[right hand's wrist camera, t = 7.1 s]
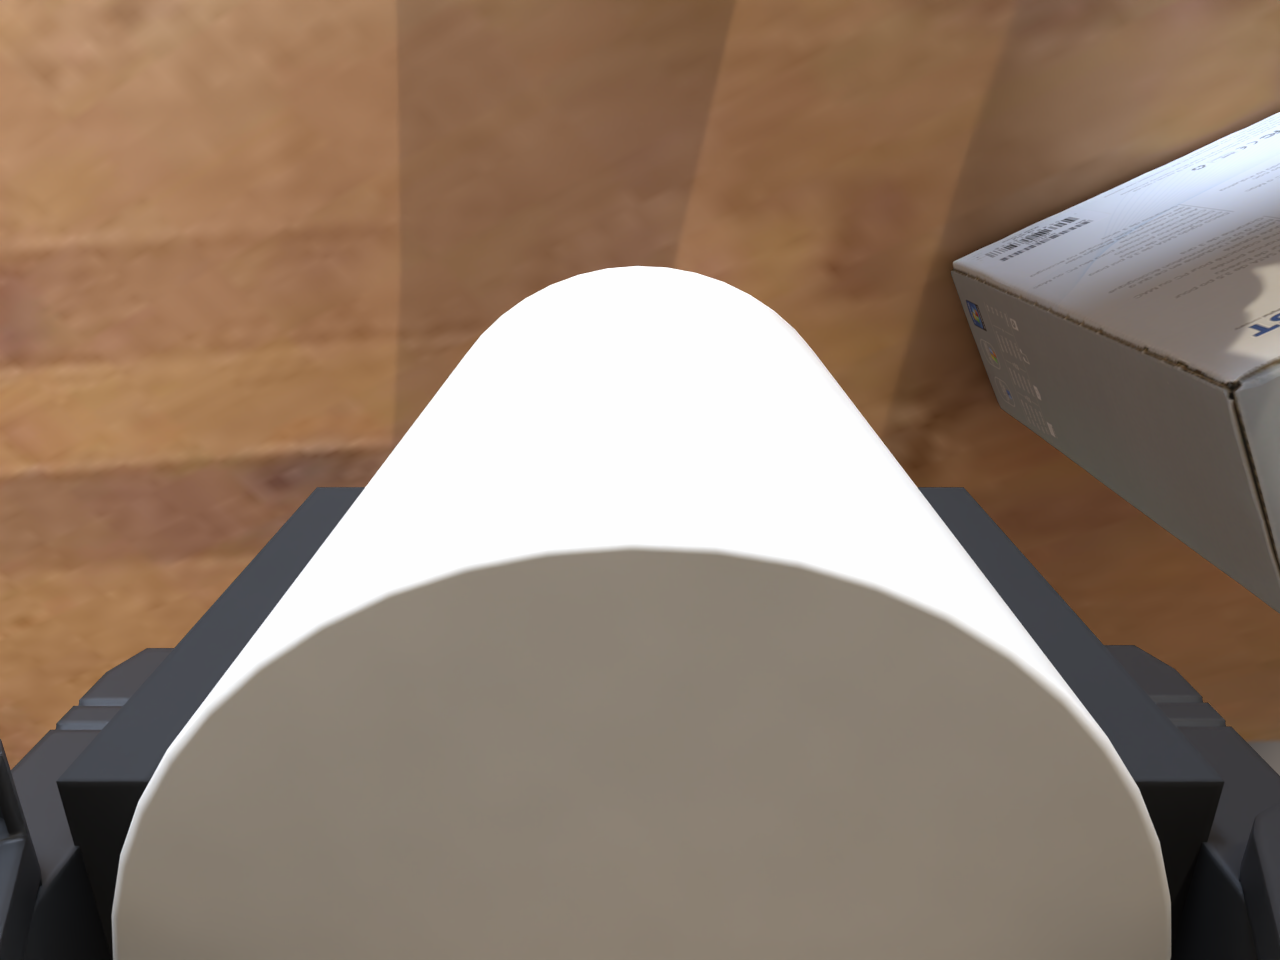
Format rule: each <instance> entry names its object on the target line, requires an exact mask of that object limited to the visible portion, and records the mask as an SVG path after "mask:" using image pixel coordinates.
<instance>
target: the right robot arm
mask: <svg viewBox="0 0 1280 960" xmlns="http://www.w3.org/2000/svg"><path fill="white" fill-rule="evenodd" d="M917 488H918V489H919V490H920V492H921V493H922V494H923V496H924V497H925V498H926V500H927V501H928V502H929V503H930V505H931V506H932V507H933V509H934V510H935V511H936V513H937V514H938V515H939V517H940V518H941V519H942V521H943V522H944V523H945V524H946V526H947V527H948V528H949V530H950V531H951V532H952V534H953V535H954V536H955V538H956V539H957V540H958V542H959V543H960V544H961V545H962V547H963V548H964V549H965V551H966V552H967V553H968V555H969V556H970V557H971V559H972V560H973V561H974V562H975V564H976V565H977V566H978V568H979V569H980V570H981V572H982V573H983V574H984V576H985V577H986V578H987V580H988V581H989V582H990V583H991V585H992V586H993V587H994V589H995V590H996V591H997V593H998V594H999V595H1000V597H1001V598H1002V599H1003V601H1004V602H1005V603H1006V604H1007V606H1008V607H1009V608H1010V610H1011V611H1012V612H1013V614H1014V615H1015V616H1016V618H1017V619H1018V620H1019V622H1020V623H1021V624H1022V625H1023V627H1024V628H1025V629H1026V631H1027V632H1028V633H1029V635H1030V636H1031V637H1032V639H1033V640H1034V641H1035V643H1036V644H1037V645H1038V646H1039V648H1040V649H1041V650H1042V652H1043V653H1044V654H1045V656H1046V657H1047V658H1048V660H1049V661H1050V662H1051V663H1052V665H1053V666H1054V667H1055V669H1056V670H1057V671H1058V673H1059V674H1060V675H1061V677H1062V678H1063V679H1064V681H1065V682H1066V683H1067V684H1068V686H1069V687H1070V688H1071V690H1072V691H1073V692H1074V694H1075V695H1076V696H1077V698H1078V699H1079V700H1080V702H1081V703H1082V704H1083V705H1084V707H1085V708H1086V709H1087V711H1088V712H1089V713H1090V715H1091V716H1092V717H1093V719H1094V720H1095V721H1096V723H1097V724H1098V725H1099V726H1100V728H1101V729H1102V730H1103V732H1104V733H1105V734H1106V736H1107V737H1108V739H1109V740H1110V742H1111V744H1112V745H1113V747H1114V748H1115V750H1116V752H1117V753H1118V755H1119V757H1120V758H1121V760H1122V762H1123V763H1124V765H1125V766H1126V768H1127V770H1128V771H1129V773H1130V775H1131V776H1132V778H1133V780H1134V781H1135V783H1136V785H1137V786H1138V788H1139V790H1140V792H1141V795H1142V798H1143V800H1144V803H1145V805H1146V808H1147V810H1148V813H1149V816H1150V818H1151V821H1152V823H1153V826H1154V828H1155V831H1156V834H1157V836H1158V839H1159V841H1160V846H1161V851H1162V856H1163V862H1164V867H1165V872H1166V877H1167V883H1168V888H1169V893H1170V900H1171V959H1170V960H1280V776H1279V775H1278V774H1277V773H1276V772H1275V771H1274V770H1273V769H1272V768H1271V767H1270V766H1269V765H1268V764H1267V763H1266V762H1265V761H1264V760H1263V759H1262V758H1261V757H1260V756H1259V755H1258V753H1257V752H1256V751H1255V750H1254V749H1253V748H1252V747H1251V746H1250V745H1249V744H1248V743H1247V742H1246V741H1245V740H1244V739H1243V738H1242V737H1241V736H1240V735H1239V734H1238V733H1237V732H1236V731H1235V730H1234V729H1233V728H1232V727H1226V725H1225V720H1224V719H1223V718H1222V717H1221V716H1220V715H1219V714H1218V713H1217V712H1216V711H1215V710H1214V709H1213V708H1212V707H1211V705H1210V704H1209V703H1203V701H1202V696H1201V695H1200V694H1199V693H1198V692H1197V691H1196V690H1195V689H1194V688H1193V687H1192V686H1191V685H1190V684H1189V683H1188V682H1187V681H1186V680H1185V679H1184V678H1183V677H1182V676H1181V675H1180V674H1179V673H1178V672H1177V671H1176V670H1175V669H1174V668H1172V667H1170V666H1169V665H1167V664H1165V663H1164V662H1162V661H1160V660H1158V659H1157V658H1155V657H1153V656H1152V655H1150V654H1148V653H1147V652H1145V651H1143V650H1141V649H1140V648H1138V647H1136V646H1135V645H1103V644H1102V643H1101V642H1100V641H1099V639H1098V638H1097V637H1096V636H1095V635H1094V634H1093V633H1092V632H1091V630H1090V629H1089V628H1088V627H1087V626H1086V625H1085V624H1084V623H1083V621H1082V620H1081V619H1080V618H1079V617H1078V616H1077V615H1076V614H1075V612H1074V611H1073V610H1072V609H1071V608H1070V607H1069V606H1068V605H1067V603H1066V602H1065V601H1064V600H1063V599H1062V598H1061V597H1060V596H1059V594H1058V593H1057V592H1056V591H1055V590H1054V589H1053V588H1052V587H1051V585H1050V584H1049V583H1048V582H1047V581H1046V580H1045V579H1044V578H1043V576H1042V575H1041V574H1040V573H1039V572H1038V571H1037V570H1036V569H1035V567H1034V566H1033V565H1032V564H1031V563H1030V562H1029V561H1028V559H1027V558H1026V557H1025V556H1024V555H1023V554H1022V553H1021V552H1020V550H1019V549H1018V548H1017V547H1016V546H1015V545H1014V544H1013V543H1012V541H1011V540H1010V539H1009V538H1008V537H1007V536H1006V535H1005V534H1004V532H1003V531H1002V530H1001V529H1000V528H999V527H998V526H997V525H996V523H995V522H994V521H993V520H992V519H991V518H990V517H989V516H988V514H987V513H986V512H985V511H984V510H983V509H982V508H981V507H980V505H979V504H978V503H977V502H976V501H975V500H974V499H973V498H972V496H971V495H970V494H969V493H968V492H967V491H966V490H965V489H964V487H917ZM364 489H365V487H317V488H316V489H315V490H314V491H313V493H312V494H311V495H310V496H309V497H308V498H307V499H306V501H305V502H304V503H303V504H302V505H301V506H300V507H299V508H298V510H297V511H296V512H295V513H294V514H293V515H292V516H291V517H290V519H289V520H288V521H287V522H286V523H285V524H284V525H283V526H282V528H281V529H280V530H279V531H278V532H277V533H276V534H275V535H274V537H273V538H272V539H271V540H270V541H269V542H268V543H267V544H266V546H265V547H264V548H263V549H262V550H261V551H260V552H259V553H258V555H257V556H256V557H255V558H254V559H253V560H252V561H251V562H250V564H249V565H248V566H247V567H246V568H245V569H244V570H243V571H242V573H241V574H240V575H239V576H238V577H237V578H236V579H235V580H234V582H233V583H232V584H231V585H230V586H229V587H228V588H227V589H226V591H225V592H224V593H223V594H222V595H221V596H220V597H219V598H218V600H217V601H216V602H215V603H214V604H213V605H212V606H211V608H210V609H209V610H208V611H207V612H206V613H205V614H204V615H203V617H202V618H201V619H200V620H199V621H198V622H197V623H196V624H195V626H194V627H193V628H192V629H191V630H190V631H189V632H188V633H187V635H186V636H185V637H184V638H183V639H182V640H181V641H180V642H179V644H178V645H177V646H176V647H175V648H147V649H145V650H143V651H142V652H140V653H138V654H136V655H135V656H133V657H131V658H130V659H128V660H126V661H125V662H123V663H121V664H120V665H118V666H116V667H114V668H113V669H111V670H109V671H108V672H106V673H105V674H104V675H103V676H102V677H101V678H100V679H99V680H98V681H97V682H96V684H95V685H94V686H93V687H92V688H91V689H90V690H89V691H88V692H87V693H86V694H85V695H84V696H83V697H82V698H81V699H80V700H79V706H73V707H72V708H71V709H70V710H69V711H68V712H67V713H66V714H65V715H64V716H63V717H62V718H61V720H60V721H59V722H58V723H57V724H56V729H55V730H50V731H49V732H48V733H47V734H46V735H45V736H44V737H43V738H42V739H41V740H40V741H39V742H38V743H37V744H36V745H35V746H34V747H33V748H32V749H31V750H30V751H29V752H28V753H27V754H26V755H25V757H24V758H23V759H22V760H21V761H20V762H19V763H18V764H17V765H16V766H15V767H14V768H13V769H12V770H10V767H9V764H8V761H7V757H6V754H5V751H4V748H3V744H2V741H1V739H0V960H113V944H112V908H113V901H114V894H115V887H116V881H117V874H118V867H119V860H120V854H121V851H122V848H123V845H124V842H125V839H126V837H127V834H128V831H129V828H130V825H131V822H132V819H133V816H134V813H135V810H136V807H137V804H138V801H139V800H140V798H141V796H142V794H143V792H144V791H145V789H146V787H147V785H148V783H149V782H150V780H151V778H152V776H153V774H154V773H155V771H156V769H157V767H158V765H159V764H160V762H161V760H162V758H163V756H164V755H165V753H166V751H167V749H168V748H169V747H170V745H171V744H172V743H173V741H174V740H175V739H176V737H177V736H178V735H179V733H180V732H181V731H182V729H183V728H184V727H185V725H186V724H187V723H188V721H189V720H190V719H191V717H192V716H193V715H194V713H195V712H196V711H197V709H198V708H199V707H200V706H201V704H202V703H203V702H204V700H205V699H206V698H207V696H208V695H209V694H210V692H211V691H212V690H213V688H214V687H215V686H216V684H217V683H218V682H219V680H220V679H221V678H222V676H223V675H224V674H225V672H226V671H227V670H228V668H229V667H230V666H231V664H232V663H233V662H234V661H235V659H236V658H237V657H238V655H239V654H240V653H241V651H242V650H243V649H244V647H245V646H246V645H247V643H248V642H249V641H250V639H251V638H252V637H253V635H254V634H255V633H256V631H257V630H258V629H259V627H260V626H261V625H262V623H263V622H264V621H265V620H266V618H267V617H268V616H269V614H270V613H271V612H272V610H273V609H274V608H275V606H276V605H277V604H278V602H279V601H280V600H281V598H282V597H283V596H284V594H285V593H286V592H287V590H288V589H289V588H290V586H291V585H292V584H293V582H294V581H295V580H296V578H297V577H298V576H299V575H300V573H301V572H302V571H303V569H304V568H305V567H306V565H307V564H308V563H309V561H310V560H311V559H312V557H313V556H314V555H315V553H316V552H317V551H318V549H319V548H320V547H321V545H322V544H323V543H324V541H325V540H326V539H327V537H328V536H329V535H330V534H331V532H332V531H333V530H334V528H335V527H336V526H337V524H338V523H339V522H340V520H341V519H342V518H343V516H344V515H345V514H346V512H347V511H348V510H349V508H350V507H351V506H352V504H353V503H354V502H355V500H356V499H357V498H358V496H359V495H360V494H361V492H362V491H363V490H364Z"/></svg>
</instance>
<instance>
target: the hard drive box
mask: <svg viewBox="0 0 1280 960" xmlns="http://www.w3.org/2000/svg"><path fill="white" fill-rule="evenodd" d="M953 267H954V269H953V270H952V271H951V275H952V278H953V281H954V284H955V286H956V289H957V292H958V295H959V298H960V301H961V303H962V306H963V309H964V312H965V315H966V318H967V320H968V323H969V326H970V329H971V331H972V334H973V337H974V339H975V342H976V344H977V347H978V350H979V353H980V355H981V358H982V361H983V364H984V366H985V369H986V372H987V374H988V377H989V380H990V382H991V385H992V387H993V390H994V393H995V395H996V398H997V401H998V403H999V405H1000V407H1001V409H1003V410H1004V411H1005V412H1007V413H1008V414H1010V415H1011V416H1012V417H1014V418H1015V419H1017V420H1018V421H1019V422H1021V423H1022V424H1024V425H1025V426H1026V427H1028V428H1029V429H1030V430H1032V431H1033V432H1035V433H1036V434H1037V435H1039V436H1040V437H1042V438H1043V439H1044V440H1045V441H1047V442H1048V443H1049V444H1051V445H1052V446H1053V447H1055V448H1056V449H1058V450H1059V451H1060V452H1062V453H1063V454H1064V455H1066V456H1067V457H1068V458H1070V459H1071V460H1072V461H1074V462H1075V463H1076V464H1078V465H1079V466H1081V467H1082V468H1083V469H1085V470H1086V471H1087V472H1089V473H1090V474H1091V475H1092V476H1094V477H1095V478H1096V479H1098V480H1099V481H1100V482H1102V483H1103V484H1104V485H1106V486H1107V487H1109V488H1110V489H1111V490H1113V491H1114V492H1115V493H1117V494H1118V495H1119V496H1121V497H1122V498H1123V499H1125V500H1126V501H1128V502H1129V503H1130V504H1132V505H1133V506H1134V507H1136V508H1137V509H1138V510H1140V511H1141V512H1142V513H1144V514H1145V515H1147V516H1148V517H1149V518H1151V519H1152V520H1153V521H1155V522H1156V523H1157V524H1159V525H1160V526H1161V527H1163V528H1164V529H1166V530H1167V531H1168V532H1170V533H1171V534H1172V535H1174V536H1175V537H1176V538H1178V539H1179V540H1180V541H1182V542H1183V543H1185V544H1186V545H1187V546H1189V547H1190V548H1191V549H1193V550H1194V551H1195V552H1197V553H1198V554H1200V555H1201V556H1202V557H1204V558H1205V559H1206V560H1208V561H1209V562H1210V563H1212V564H1213V565H1215V566H1216V567H1217V568H1219V569H1220V570H1221V571H1223V572H1224V573H1226V574H1227V575H1228V576H1230V577H1231V578H1233V579H1234V580H1235V581H1237V582H1238V583H1239V584H1241V585H1242V586H1244V587H1245V588H1246V589H1248V590H1249V591H1250V592H1252V593H1253V594H1254V595H1256V596H1257V597H1258V598H1260V599H1261V600H1262V601H1264V602H1265V603H1266V604H1268V605H1269V606H1270V607H1272V608H1273V609H1274V610H1276V611H1277V612H1278V613H1280V112H1279V113H1276V114H1274V115H1272V116H1270V117H1268V118H1266V119H1264V120H1262V121H1260V122H1257V123H1255V124H1253V125H1251V126H1249V127H1247V128H1245V129H1242V130H1240V131H1237V132H1235V133H1232V134H1230V135H1228V136H1226V137H1223V138H1221V139H1219V140H1217V141H1215V142H1213V143H1211V144H1208V145H1206V146H1204V147H1202V148H1200V149H1198V150H1196V151H1194V152H1192V153H1190V154H1188V155H1186V156H1183V157H1181V158H1179V159H1176V160H1174V161H1172V162H1170V163H1168V164H1166V165H1164V166H1161V167H1159V168H1157V169H1154V170H1152V171H1150V172H1147V173H1145V174H1143V175H1141V176H1139V177H1136V178H1134V179H1132V180H1130V181H1128V182H1126V183H1124V184H1121V185H1119V186H1117V187H1115V188H1113V189H1111V190H1108V191H1106V192H1104V193H1102V194H1100V195H1098V196H1095V197H1093V198H1091V199H1089V200H1086V201H1084V202H1082V203H1080V204H1078V205H1075V206H1073V207H1071V208H1069V209H1067V210H1064V211H1062V212H1060V213H1058V214H1055V215H1053V216H1050V217H1048V218H1046V219H1044V220H1041V221H1039V222H1037V223H1035V224H1032V225H1030V226H1028V227H1026V228H1024V229H1022V230H1020V231H1018V232H1016V233H1013V234H1011V235H1009V236H1007V237H1005V238H1003V239H1001V240H999V241H997V242H995V243H992V244H990V245H988V246H986V247H983V248H981V249H979V250H977V251H975V252H973V253H971V254H968V255H966V256H964V257H962V258H960V259H958V260H956V261H954V262H953Z"/></svg>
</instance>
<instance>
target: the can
mask: <svg viewBox="0 0 1280 960" xmlns="http://www.w3.org/2000/svg"><path fill="white" fill-rule="evenodd" d="M112 944H113V960H1170V959H1171V900H1170V893H1169V888H1168V883H1167V877H1166V872H1165V867H1164V862H1163V856H1162V851H1161V846H1160V841H1159V839H1158V836H1157V834H1156V831H1155V828H1154V826H1153V823H1152V821H1151V818H1150V816H1149V813H1148V810H1147V808H1146V805H1145V803H1144V800H1143V798H1142V795H1141V792H1140V790H1139V788H1138V786H1137V785H1136V783H1135V781H1134V780H1133V778H1132V776H1131V775H1130V773H1129V771H1128V770H1127V768H1126V766H1125V765H1124V763H1123V762H1122V760H1121V758H1120V757H1119V755H1118V753H1117V752H1116V750H1115V748H1114V747H1113V745H1112V744H1111V742H1110V740H1109V739H1108V737H1107V736H1106V734H1105V733H1104V732H1103V730H1102V729H1101V728H1100V726H1099V725H1098V724H1097V723H1096V721H1095V720H1094V719H1093V717H1092V716H1091V715H1090V713H1089V712H1088V711H1087V709H1086V708H1085V707H1084V705H1083V704H1082V703H1081V702H1080V700H1079V699H1078V698H1077V696H1076V695H1075V694H1074V692H1073V691H1072V690H1071V688H1070V687H1069V686H1068V684H1067V683H1066V682H1065V681H1064V679H1063V678H1062V677H1061V675H1060V674H1059V673H1058V671H1057V670H1056V669H1055V667H1054V666H1053V665H1052V663H1051V662H1050V661H1049V660H1048V658H1047V657H1046V656H1045V654H1044V653H1043V652H1042V650H1041V649H1040V648H1039V646H1038V645H1037V644H1036V643H1035V641H1034V640H1033V639H1032V637H1031V636H1030V635H1029V633H1028V632H1027V631H1026V629H1025V628H1024V627H1023V625H1022V624H1021V623H1020V622H1019V620H1018V619H1017V618H1016V616H1015V615H1014V614H1013V612H1012V611H1011V610H1010V608H1009V607H1008V606H1007V604H1006V603H1005V602H1004V601H1003V599H1002V598H1001V597H1000V595H999V594H998V593H997V591H996V590H995V589H994V587H993V586H992V585H991V583H990V582H989V581H988V580H987V578H986V577H985V576H984V574H983V573H982V572H981V570H980V569H979V568H978V566H977V565H976V564H975V562H974V561H973V560H972V559H971V557H970V556H969V555H968V553H967V552H966V551H965V549H964V548H963V547H962V545H961V544H960V543H959V542H958V540H957V539H956V538H955V536H954V535H953V534H952V532H951V531H950V530H949V528H948V527H947V526H946V524H945V523H944V522H943V521H942V519H941V518H940V517H939V515H938V514H937V513H936V511H935V510H934V509H933V507H932V506H931V505H930V503H929V502H928V501H927V500H926V498H925V497H924V496H923V494H922V493H921V492H920V490H919V489H918V488H917V486H916V485H915V484H914V482H913V481H912V480H911V479H910V477H909V476H908V475H907V473H906V472H905V471H904V469H903V468H902V467H901V465H900V464H899V463H898V461H897V460H896V459H895V458H894V456H893V455H892V454H891V452H890V451H889V450H888V448H887V447H886V446H885V444H884V443H883V442H882V441H881V439H880V438H879V437H878V435H877V434H876V433H875V431H874V430H873V429H872V427H871V426H870V425H869V423H868V422H867V421H866V420H865V418H864V417H863V416H862V414H861V413H860V412H859V410H858V409H857V408H856V406H855V405H854V404H853V402H852V401H851V400H850V399H849V397H848V396H847V395H846V393H845V392H844V391H843V389H842V388H841V387H840V385H839V384H838V383H837V381H836V380H835V379H834V378H833V376H832V375H831V374H830V372H829V371H828V370H827V368H826V367H825V366H824V364H823V363H822V362H821V360H820V359H819V358H818V357H817V355H816V354H815V353H814V351H813V350H812V349H811V348H810V347H809V345H808V344H807V343H806V342H805V341H804V339H803V338H802V337H801V336H800V335H799V334H798V332H797V331H796V330H795V329H794V328H793V327H792V326H790V325H789V324H788V323H787V322H786V321H785V320H784V319H783V318H781V317H780V316H779V315H778V314H777V313H776V312H775V311H773V310H772V309H770V308H769V307H767V306H766V305H764V304H763V303H761V302H760V301H758V300H757V299H755V298H754V297H752V296H751V295H749V294H747V293H745V292H743V291H741V290H739V289H737V288H735V287H733V286H731V285H729V284H727V283H725V282H722V281H719V280H716V279H713V278H710V277H707V276H704V275H701V274H698V273H693V272H688V271H683V270H677V269H672V268H665V267H646V266H632V267H620V268H608V269H603V270H599V271H594V272H589V273H585V274H580V275H577V276H574V277H571V278H569V279H566V280H563V281H560V282H558V283H555V284H552V285H550V286H548V287H546V288H544V289H542V290H541V291H539V292H537V293H535V294H533V295H531V296H529V297H527V298H525V299H524V300H523V301H521V302H520V303H518V304H517V305H516V306H514V307H513V308H511V309H510V310H509V311H507V312H506V313H504V314H503V315H502V316H501V317H500V318H499V319H498V320H496V321H495V322H494V323H493V324H492V325H491V326H490V327H489V328H488V329H487V330H486V331H485V332H484V333H483V334H482V335H481V336H480V337H479V339H478V340H477V341H476V342H475V344H474V345H473V346H472V347H471V349H470V350H469V351H468V352H467V354H466V355H465V356H464V358H463V359H462V360H461V362H460V363H459V364H458V365H457V367H456V368H455V369H454V371H453V372H452V373H451V375H450V376H449V377H448V379H447V380H446V381H445V383H444V384H443V385H442V387H441V388H440V389H439V391H438V392H437V393H436V395H435V396H434V397H433V399H432V400H431V401H430V403H429V404H428V405H427V406H426V408H425V409H424V410H423V412H422V413H421V414H420V416H419V417H418V418H417V420H416V421H415V422H414V424H413V425H412V426H411V428H410V429H409V430H408V432H407V433H406V434H405V436H404V437H403V438H402V440H401V441H400V442H399V444H398V445H397V446H396V448H395V449H394V450H393V451H392V453H391V454H390V455H389V457H388V458H387V459H386V461H385V462H384V463H383V465H382V466H381V467H380V469H379V470H378V471H377V473H376V474H375V475H374V477H373V478H372V479H371V481H370V482H369V483H368V485H367V486H366V487H365V489H364V490H363V491H362V492H361V494H360V495H359V496H358V498H357V499H356V500H355V502H354V503H353V504H352V506H351V507H350V508H349V510H348V511H347V512H346V514H345V515H344V516H343V518H342V519H341V520H340V522H339V523H338V524H337V526H336V527H335V528H334V530H333V531H332V532H331V534H330V535H329V536H328V537H327V539H326V540H325V541H324V543H323V544H322V545H321V547H320V548H319V549H318V551H317V552H316V553H315V555H314V556H313V557H312V559H311V560H310V561H309V563H308V564H307V565H306V567H305V568H304V569H303V571H302V572H301V573H300V575H299V576H298V577H297V578H296V580H295V581H294V582H293V584H292V585H291V586H290V588H289V589H288V590H287V592H286V593H285V594H284V596H283V597H282V598H281V600H280V601H279V602H278V604H277V605H276V606H275V608H274V609H273V610H272V612H271V613H270V614H269V616H268V617H267V618H266V620H265V621H264V622H263V623H262V625H261V626H260V627H259V629H258V630H257V631H256V633H255V634H254V635H253V637H252V638H251V639H250V641H249V642H248V643H247V645H246V646H245V647H244V649H243V650H242V651H241V653H240V654H239V655H238V657H237V658H236V659H235V661H234V662H233V663H232V664H231V666H230V667H229V668H228V670H227V671H226V672H225V674H224V675H223V676H222V678H221V679H220V680H219V682H218V683H217V684H216V686H215V687H214V688H213V690H212V691H211V692H210V694H209V695H208V696H207V698H206V699H205V700H204V702H203V703H202V704H201V706H200V707H199V708H198V709H197V711H196V712H195V713H194V715H193V716H192V717H191V719H190V720H189V721H188V723H187V724H186V725H185V727H184V728H183V729H182V731H181V732H180V733H179V735H178V736H177V737H176V739H175V740H174V741H173V743H172V744H171V745H170V747H169V748H168V749H167V751H166V753H165V755H164V756H163V758H162V760H161V762H160V764H159V765H158V767H157V769H156V771H155V773H154V774H153V776H152V778H151V780H150V782H149V783H148V785H147V787H146V789H145V791H144V792H143V794H142V796H141V798H140V800H139V801H138V804H137V807H136V810H135V813H134V816H133V819H132V822H131V825H130V828H129V831H128V834H127V837H126V839H125V842H124V845H123V848H122V851H121V854H120V860H119V867H118V874H117V881H116V887H115V894H114V901H113V908H112Z"/></svg>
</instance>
